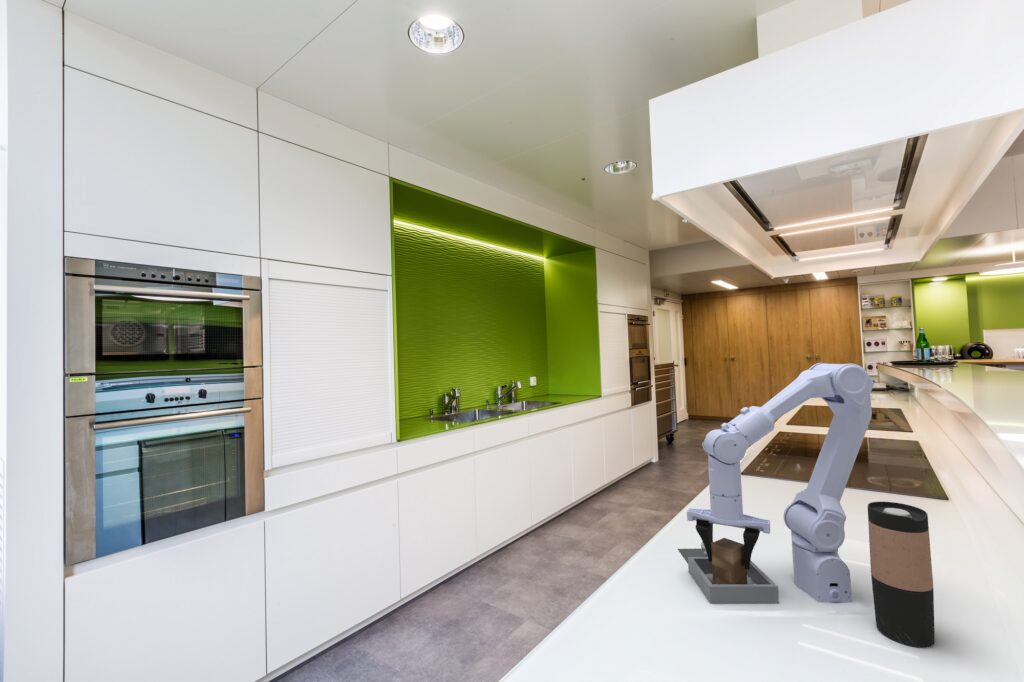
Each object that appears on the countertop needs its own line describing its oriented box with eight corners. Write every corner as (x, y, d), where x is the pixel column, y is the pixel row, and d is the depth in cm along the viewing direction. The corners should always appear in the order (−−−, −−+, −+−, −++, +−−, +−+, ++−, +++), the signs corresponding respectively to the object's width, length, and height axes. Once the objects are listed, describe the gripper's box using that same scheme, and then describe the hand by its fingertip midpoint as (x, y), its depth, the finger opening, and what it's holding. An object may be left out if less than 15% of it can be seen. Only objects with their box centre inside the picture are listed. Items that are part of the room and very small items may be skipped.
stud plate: (741, 573, 93) (739, 550, 93) (692, 574, 94) (690, 550, 94) (721, 552, 103) (720, 531, 103) (677, 553, 104) (676, 532, 104)
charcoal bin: (779, 609, 80) (777, 586, 80) (710, 609, 81) (709, 586, 81) (748, 576, 92) (747, 556, 92) (688, 576, 93) (687, 556, 93)
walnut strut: (747, 587, 86) (745, 544, 86) (734, 594, 84) (732, 551, 84) (726, 578, 90) (724, 537, 90) (713, 585, 87) (711, 543, 87)
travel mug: (874, 614, 78) (867, 498, 78) (934, 630, 73) (926, 506, 73) (874, 637, 72) (866, 511, 72) (939, 655, 67) (930, 520, 68)
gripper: (769, 492, 87) (773, 563, 86) (690, 482, 95) (694, 547, 94) (766, 502, 81) (771, 579, 80) (683, 491, 89) (686, 561, 88)
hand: (729, 563), depth 87 cm, fingers closed on walnut strut, 6 cm apart
